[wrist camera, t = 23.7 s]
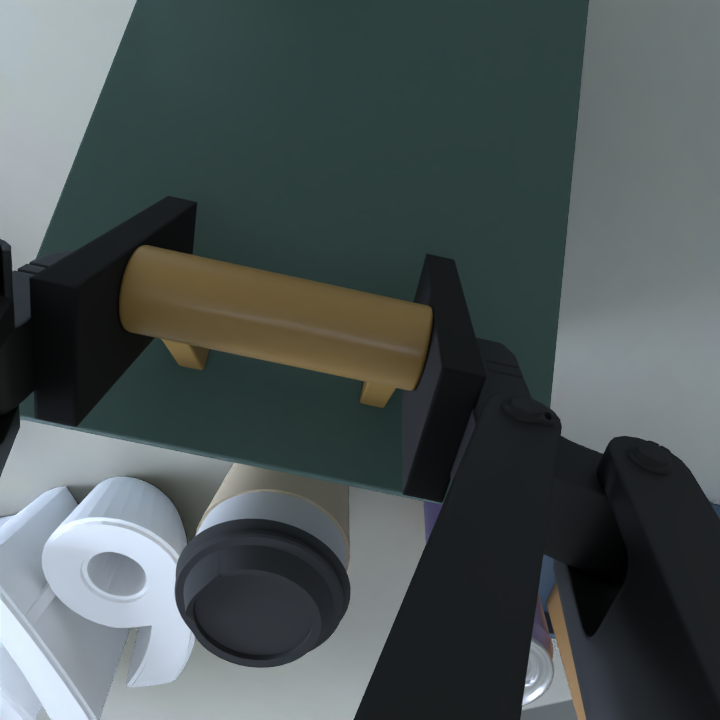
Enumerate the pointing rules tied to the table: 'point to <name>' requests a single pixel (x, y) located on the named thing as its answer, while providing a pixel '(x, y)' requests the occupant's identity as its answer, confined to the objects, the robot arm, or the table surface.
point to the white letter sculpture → (88, 598)
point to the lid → (325, 214)
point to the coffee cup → (267, 567)
